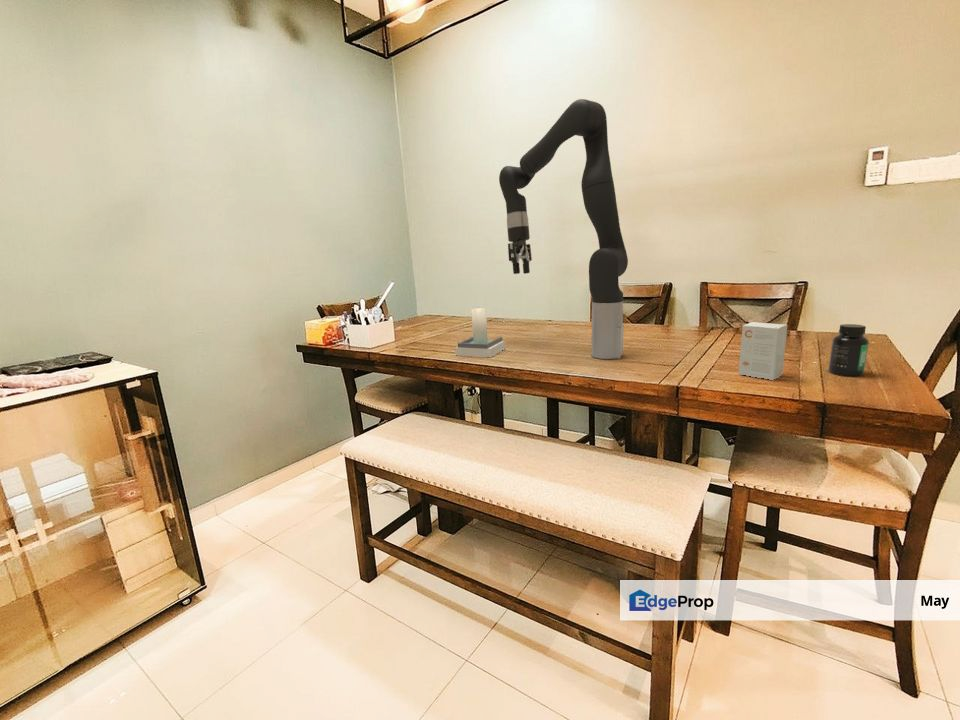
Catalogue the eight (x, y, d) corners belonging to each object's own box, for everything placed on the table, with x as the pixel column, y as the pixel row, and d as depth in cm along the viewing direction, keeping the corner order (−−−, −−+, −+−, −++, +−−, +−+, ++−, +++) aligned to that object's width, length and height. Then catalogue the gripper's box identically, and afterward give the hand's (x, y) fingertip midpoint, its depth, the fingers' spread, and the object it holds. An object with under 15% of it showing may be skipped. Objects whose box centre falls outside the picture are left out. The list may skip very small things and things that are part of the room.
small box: (782, 375, 110) (788, 324, 107) (773, 381, 107) (779, 328, 103) (747, 370, 117) (752, 321, 113) (737, 375, 113) (742, 325, 110)
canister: (490, 342, 154) (488, 307, 151) (484, 345, 149) (481, 309, 146) (477, 341, 156) (475, 307, 153) (471, 344, 151) (468, 309, 149)
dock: (505, 349, 156) (504, 337, 155) (490, 357, 145) (489, 344, 144) (472, 347, 162) (471, 335, 161) (455, 355, 150) (454, 343, 149)
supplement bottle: (869, 377, 105) (877, 328, 103) (836, 376, 107) (843, 328, 104) (854, 369, 112) (862, 323, 109) (823, 369, 114) (829, 323, 111)
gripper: (519, 223, 146) (523, 272, 149) (535, 226, 158) (539, 272, 161) (499, 227, 150) (503, 275, 153) (516, 229, 162) (520, 274, 165)
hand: (521, 273), depth 157 cm, fingers open, 8 cm apart
